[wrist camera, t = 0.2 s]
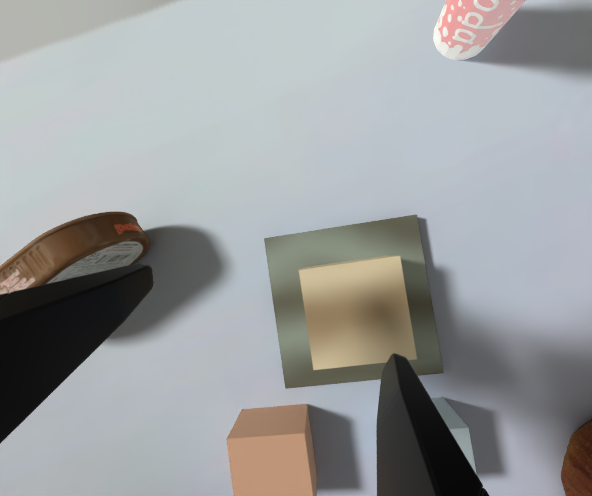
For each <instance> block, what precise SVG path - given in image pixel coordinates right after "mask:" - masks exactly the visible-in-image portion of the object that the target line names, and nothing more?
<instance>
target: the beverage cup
mask: <svg viewBox="0 0 592 496" xmlns="http://www.w3.org/2000/svg"><path fill="white" fill-rule="evenodd" d="M525 1H526V0H446V3H445V5H444V7H443V10H442V12H441V14H440V17H439V19H438V22H437V24H436V26H435V29H434V42H435V45H436V48H437V49H438V50H439V51H440V52H441V53H442V54H443V55H444V56H445V57H448V58H451V59H453V60H466V59H468V58H471V57H474V56H476V55H477V54H478V53H479V52H480V51H481V50H483V49H484V48H485V46H486V45H487V44H488V43H489V42H490V41H491V40H492V39H493V37H494V36H495V35H496V34H497V33H498V32H499V31H500V29H501V28H502V27H503V26H504V25H505V24H506V23H507V21H508V20H509V19H510V18H511V17H512V16H513V15H514V14H515V12H516V11H517V10H518V9H519V8H520V7H521V6H522V4H523V3H524V2H525Z"/></svg>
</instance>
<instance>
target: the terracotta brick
mask: <svg viewBox="0 0 592 496" xmlns="http://www.w3.org/2000/svg"><path fill="white" fill-rule="evenodd" d="M227 446H228V454H229V462H230V470H231V478H232V486H233V494H234V496H316V494H317V470H316V462H315V455H314V448H313V441H312V434H311V426H310V419H309V412H308V405H307V404H300V405H289V406H277V407H265V408H254V409H242V411H241V412H240V414H239V416H238V418H237V420H236V422H235V424H234V426H233V428H232V430H231V432H230V434H229V435H228V437H227Z"/></svg>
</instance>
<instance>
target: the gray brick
mask: <svg viewBox="0 0 592 496" xmlns="http://www.w3.org/2000/svg"><path fill="white" fill-rule="evenodd" d="M431 399H432V401H433V403H434V404H435V406H436V408H437V409H438V411H439V413H440V415H441V416H442V418H443V420H444V421H445V423H446V425H447V426H448V428H449V430H450V431H451V433H452V435H453V436H454V438H455V440H456V441H457V443H458V445H459V446H460V448H461V450H462V451H463V453H464V455H465V456H466V458H467V460H468V461H469V463H470V465H471V466H472V468H473V470H474V471H475V473H476V468H475V462H474V456H473V450H472V444H471V439H470V433H469V427H468V426H467V425H466V424H465V423H464V422H463V420H462V419H461V418H460V417H459V416H458V415H457V413H456V412H455V411H454V410H453V409H452V407H451V406H450V405H449V404H448V403H447V402H446V400H445V399H444V398H443V397H441V398H431ZM476 475H477V474H476Z"/></svg>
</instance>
